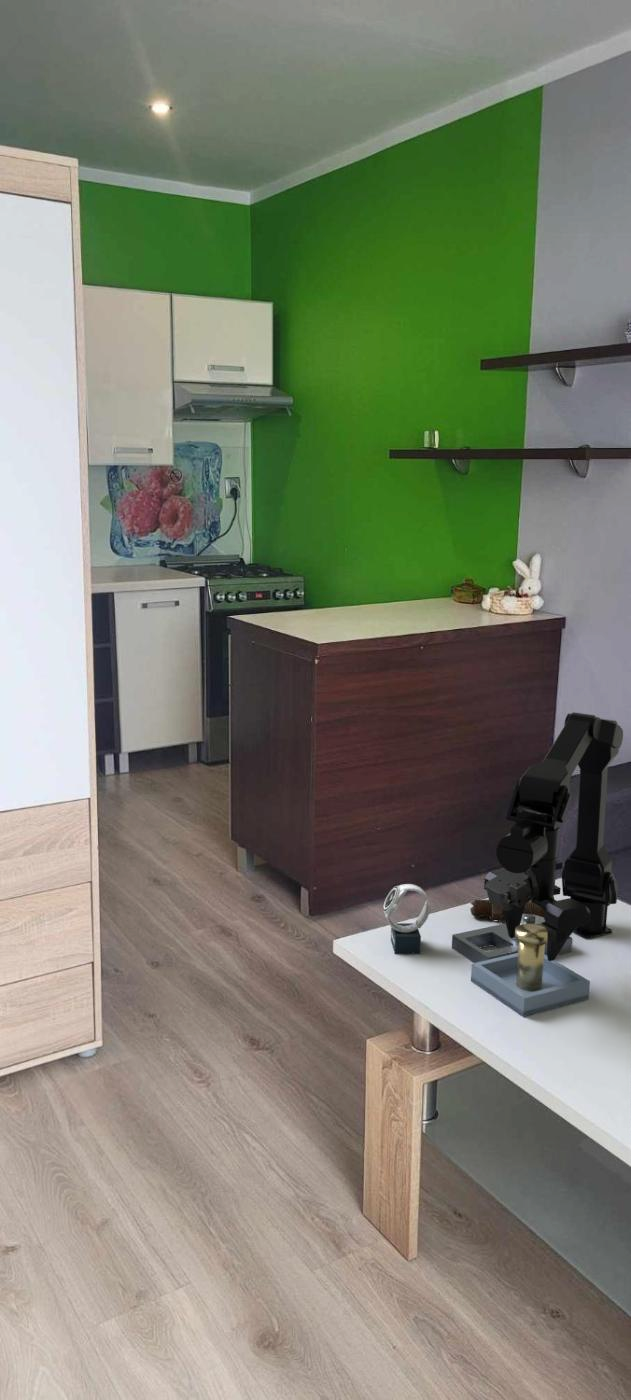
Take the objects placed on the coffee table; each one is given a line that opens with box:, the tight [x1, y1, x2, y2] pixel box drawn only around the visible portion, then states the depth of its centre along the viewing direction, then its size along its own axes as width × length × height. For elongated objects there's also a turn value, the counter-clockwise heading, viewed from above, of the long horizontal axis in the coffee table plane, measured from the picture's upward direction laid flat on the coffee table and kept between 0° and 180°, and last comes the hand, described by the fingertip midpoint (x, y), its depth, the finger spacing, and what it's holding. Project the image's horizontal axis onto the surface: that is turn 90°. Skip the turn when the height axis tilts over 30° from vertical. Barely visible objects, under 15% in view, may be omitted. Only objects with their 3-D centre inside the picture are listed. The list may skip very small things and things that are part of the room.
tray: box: [470, 953, 591, 1017], centre depth 168 cm, size 13×13×3 cm
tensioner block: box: [451, 914, 573, 964], centre depth 182 cm, size 18×10×6 cm, turn 119°
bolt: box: [470, 895, 556, 922], centre depth 196 cm, size 6×5×15 cm
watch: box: [382, 883, 431, 955], centre depth 182 cm, size 6×8×11 cm
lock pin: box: [515, 924, 547, 991], centre depth 167 cm, size 5×5×9 cm
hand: (531, 948), depth 167 cm, fingers open, 9 cm apart
